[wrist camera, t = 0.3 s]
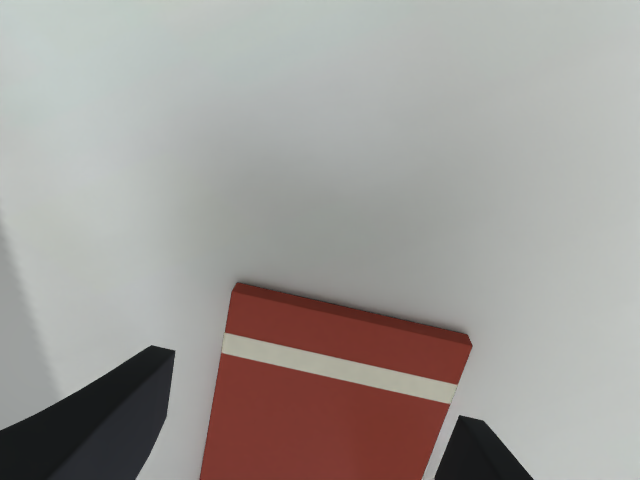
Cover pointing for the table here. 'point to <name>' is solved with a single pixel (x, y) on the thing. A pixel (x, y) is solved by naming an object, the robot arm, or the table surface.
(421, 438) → the towel
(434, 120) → the table surface
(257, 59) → the table surface
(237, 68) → the table surface
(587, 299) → the table surface
